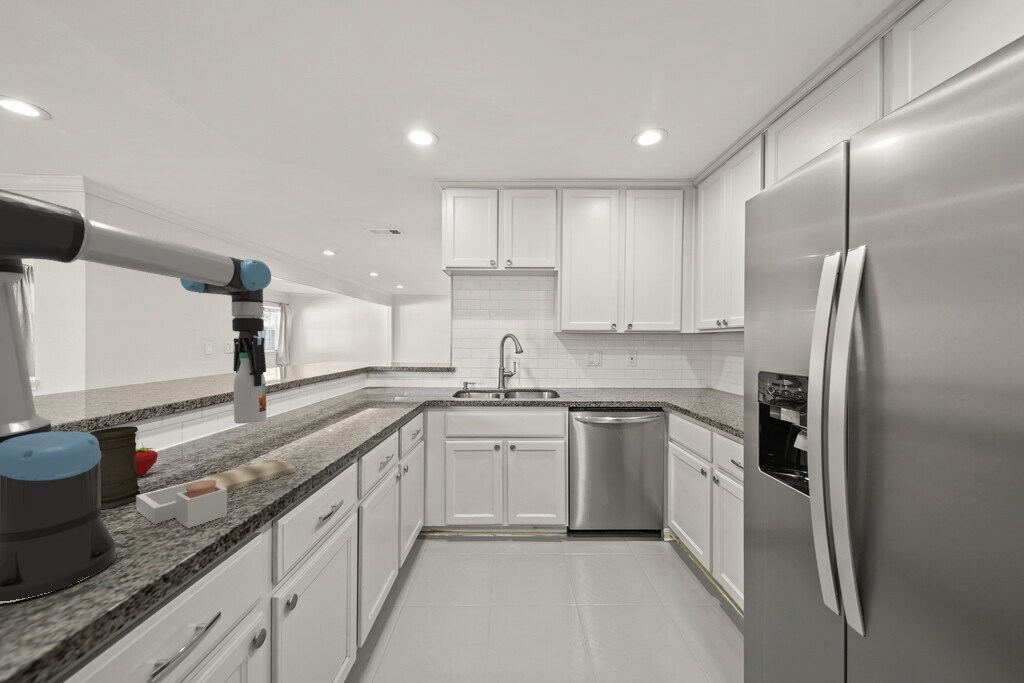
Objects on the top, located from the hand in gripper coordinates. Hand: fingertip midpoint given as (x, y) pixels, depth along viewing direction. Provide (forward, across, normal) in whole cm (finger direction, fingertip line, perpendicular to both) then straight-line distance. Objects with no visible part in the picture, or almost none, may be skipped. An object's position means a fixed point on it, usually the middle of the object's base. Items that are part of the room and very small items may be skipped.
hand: (249, 396), depth 112 cm
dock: (+23, -12, +18) cm, 32 cm away
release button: (+21, -20, +18) cm, 34 cm away
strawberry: (+24, +30, +17) cm, 42 cm away
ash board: (+23, 0, 0) cm, 23 cm away
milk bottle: (+7, 0, 0) cm, 7 cm away
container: (+24, +10, +26) cm, 37 cm away
